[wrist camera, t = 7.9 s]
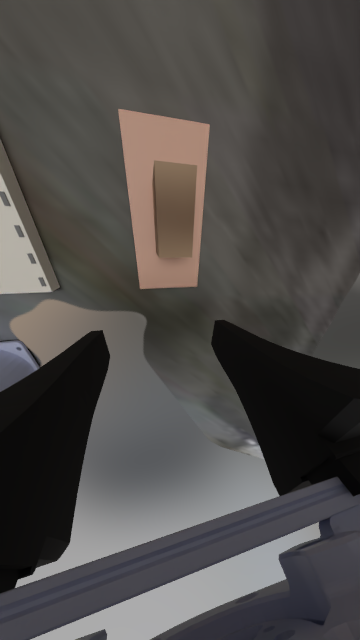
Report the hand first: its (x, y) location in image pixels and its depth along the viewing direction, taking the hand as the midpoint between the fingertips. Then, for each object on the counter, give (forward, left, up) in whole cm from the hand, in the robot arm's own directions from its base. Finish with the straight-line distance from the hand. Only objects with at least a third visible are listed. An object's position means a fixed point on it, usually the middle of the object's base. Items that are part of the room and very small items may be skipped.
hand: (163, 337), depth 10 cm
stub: (+7, -2, -9) cm, 12 cm away
